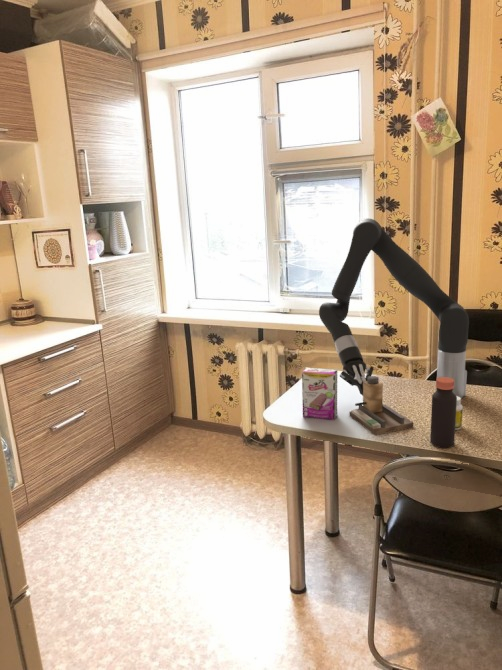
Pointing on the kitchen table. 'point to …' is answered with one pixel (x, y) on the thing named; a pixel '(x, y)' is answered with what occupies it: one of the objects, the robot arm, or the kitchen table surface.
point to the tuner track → (380, 419)
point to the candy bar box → (319, 393)
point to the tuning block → (372, 394)
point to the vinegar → (443, 414)
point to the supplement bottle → (458, 414)
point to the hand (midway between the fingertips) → (365, 394)
